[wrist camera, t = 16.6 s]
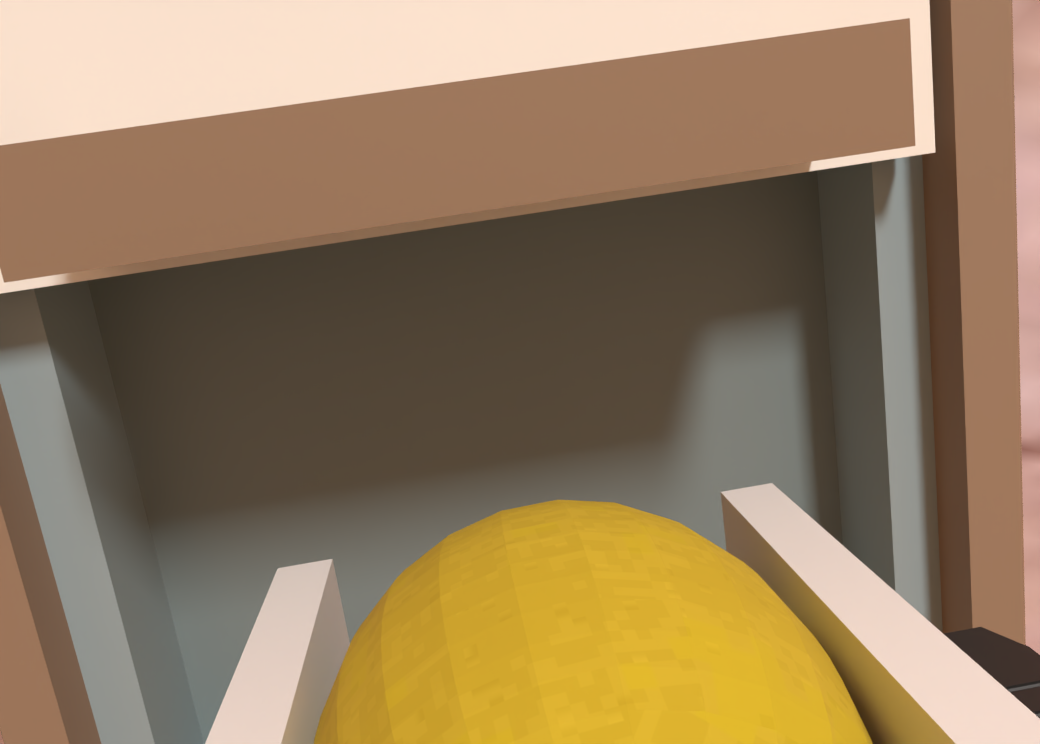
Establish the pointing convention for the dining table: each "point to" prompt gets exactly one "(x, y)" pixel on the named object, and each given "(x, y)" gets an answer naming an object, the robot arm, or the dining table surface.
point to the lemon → (584, 643)
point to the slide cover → (417, 115)
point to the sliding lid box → (515, 404)
